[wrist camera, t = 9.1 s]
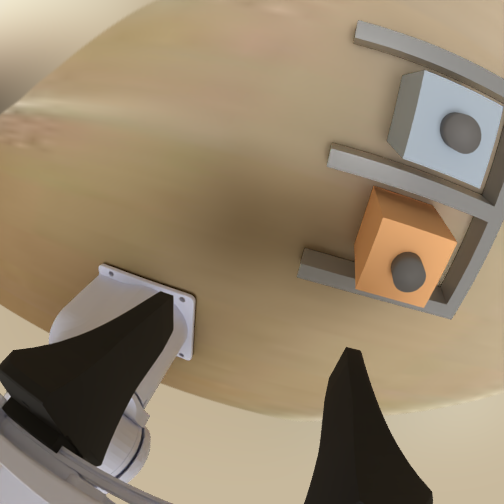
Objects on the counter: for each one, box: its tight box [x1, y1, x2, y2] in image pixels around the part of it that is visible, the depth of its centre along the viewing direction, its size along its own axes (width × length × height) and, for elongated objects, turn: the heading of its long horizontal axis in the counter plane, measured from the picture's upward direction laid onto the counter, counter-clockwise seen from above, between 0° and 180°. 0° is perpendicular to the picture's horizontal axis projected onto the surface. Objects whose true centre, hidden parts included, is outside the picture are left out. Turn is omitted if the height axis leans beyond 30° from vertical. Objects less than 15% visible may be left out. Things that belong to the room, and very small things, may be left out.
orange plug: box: [354, 186, 457, 308], centre depth 16 cm, size 4×4×6 cm
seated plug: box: [387, 70, 503, 189], centre depth 12 cm, size 4×4×6 cm
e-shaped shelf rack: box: [297, 20, 504, 319], centre depth 15 cm, size 11×15×2 cm
